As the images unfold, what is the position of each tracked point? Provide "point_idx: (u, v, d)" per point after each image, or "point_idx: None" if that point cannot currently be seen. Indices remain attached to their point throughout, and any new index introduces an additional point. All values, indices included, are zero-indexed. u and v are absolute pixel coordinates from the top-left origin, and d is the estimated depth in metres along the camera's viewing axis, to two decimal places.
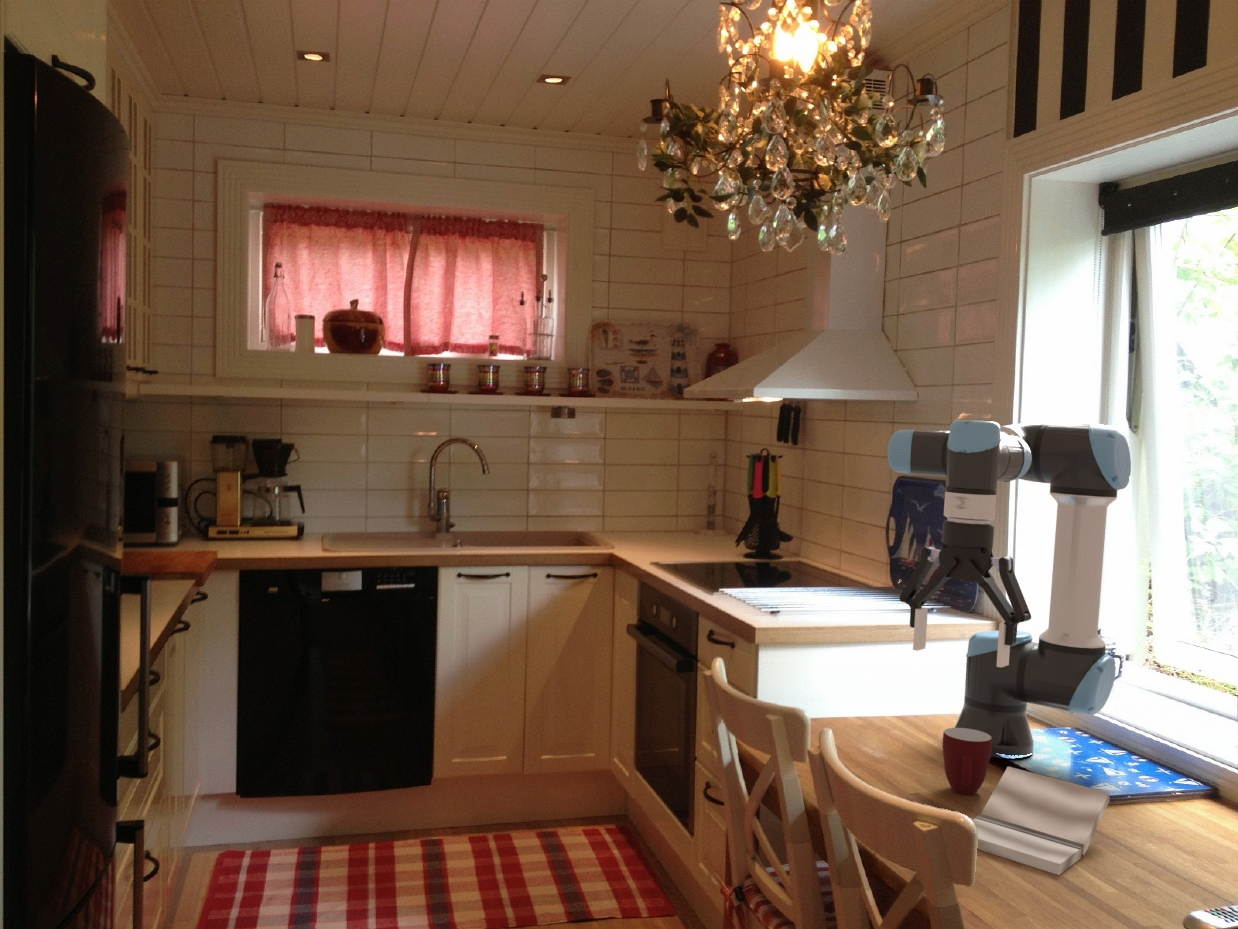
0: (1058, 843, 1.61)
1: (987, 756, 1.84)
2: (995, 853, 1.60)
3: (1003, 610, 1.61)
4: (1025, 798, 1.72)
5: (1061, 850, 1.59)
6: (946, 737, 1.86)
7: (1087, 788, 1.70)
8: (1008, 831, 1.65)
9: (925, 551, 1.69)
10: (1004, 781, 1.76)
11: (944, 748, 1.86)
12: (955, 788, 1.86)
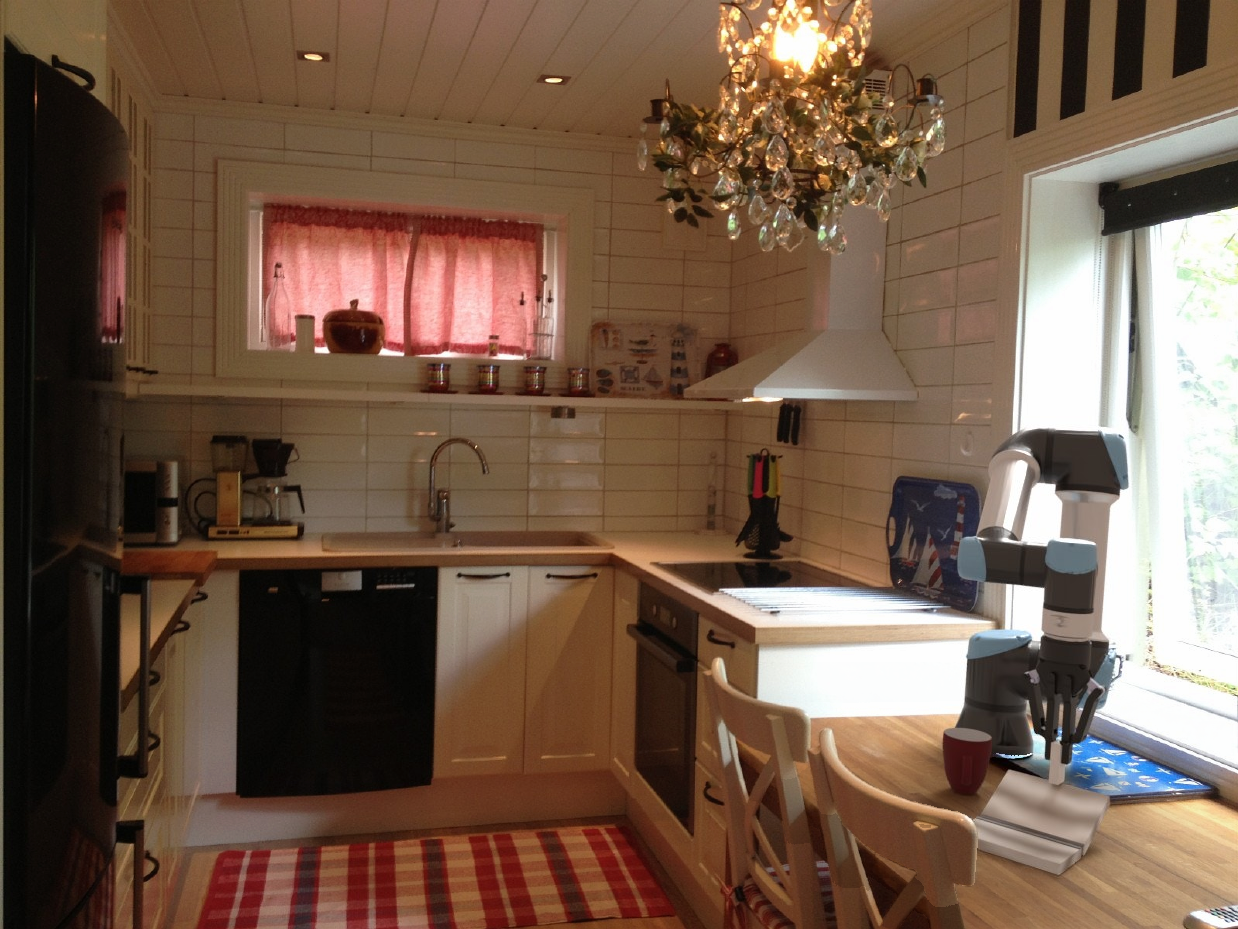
0: (1058, 843, 1.61)
1: (987, 756, 1.84)
2: (995, 853, 1.60)
3: (1066, 731, 1.71)
4: (1026, 799, 1.72)
5: (1061, 850, 1.59)
6: (946, 737, 1.86)
7: (1088, 791, 1.70)
8: (1008, 831, 1.65)
9: (1024, 677, 1.75)
10: (1005, 783, 1.76)
11: (944, 748, 1.86)
12: (955, 788, 1.86)
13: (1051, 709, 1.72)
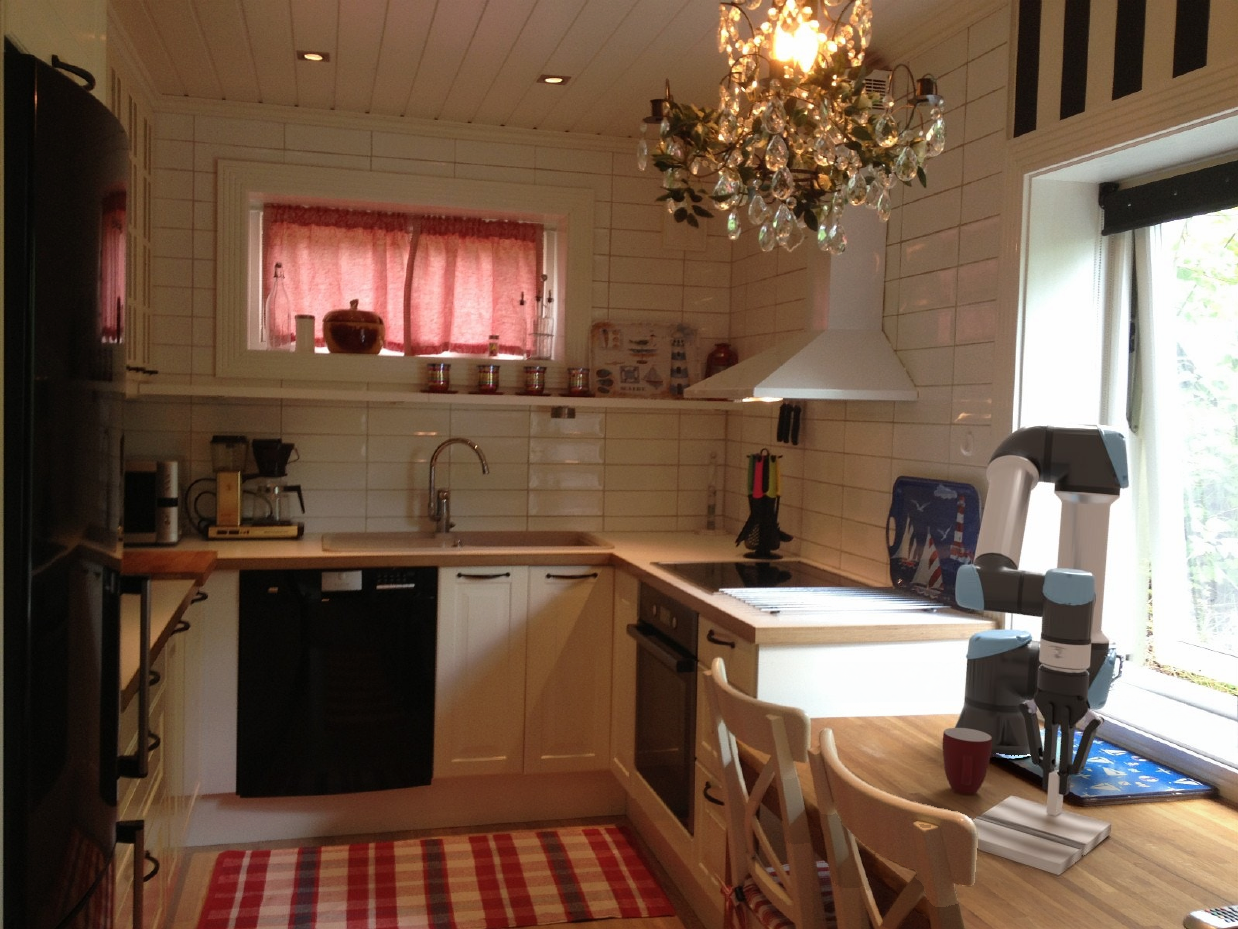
0: (1058, 843, 1.61)
1: (987, 756, 1.84)
2: (995, 853, 1.60)
3: (1064, 762, 1.71)
4: (1028, 813, 1.73)
5: (1061, 850, 1.59)
6: (946, 737, 1.86)
7: (1090, 818, 1.72)
8: (1008, 831, 1.65)
9: (1022, 707, 1.75)
10: (1007, 801, 1.77)
11: (944, 748, 1.86)
12: (955, 788, 1.86)
13: (1049, 739, 1.72)
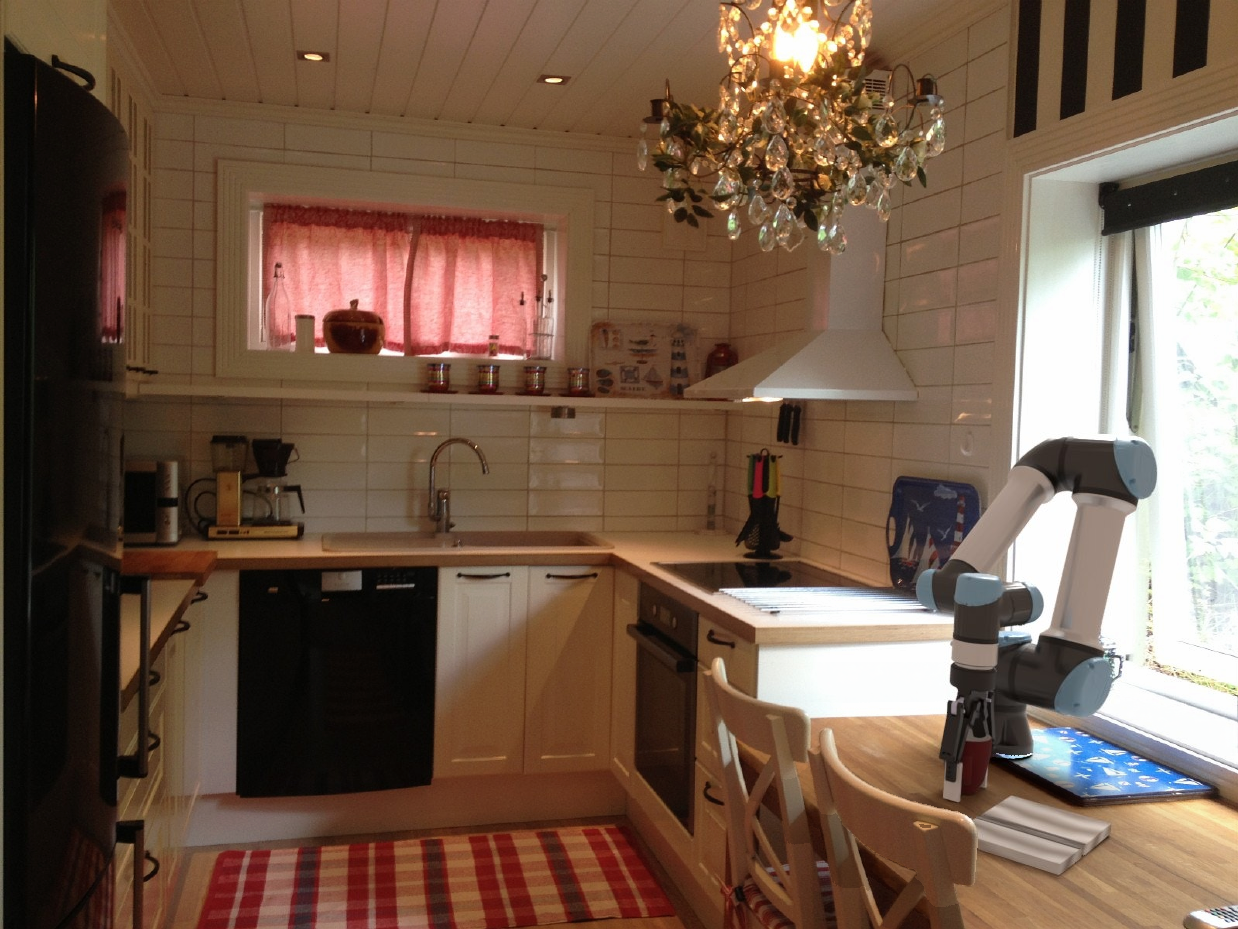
0: (1058, 843, 1.61)
1: (987, 756, 1.84)
2: (995, 853, 1.60)
3: None
4: (1028, 813, 1.73)
5: (1061, 850, 1.59)
6: None
7: (1090, 818, 1.72)
8: (1008, 831, 1.65)
9: None
10: (1007, 802, 1.77)
11: None
12: None
13: None
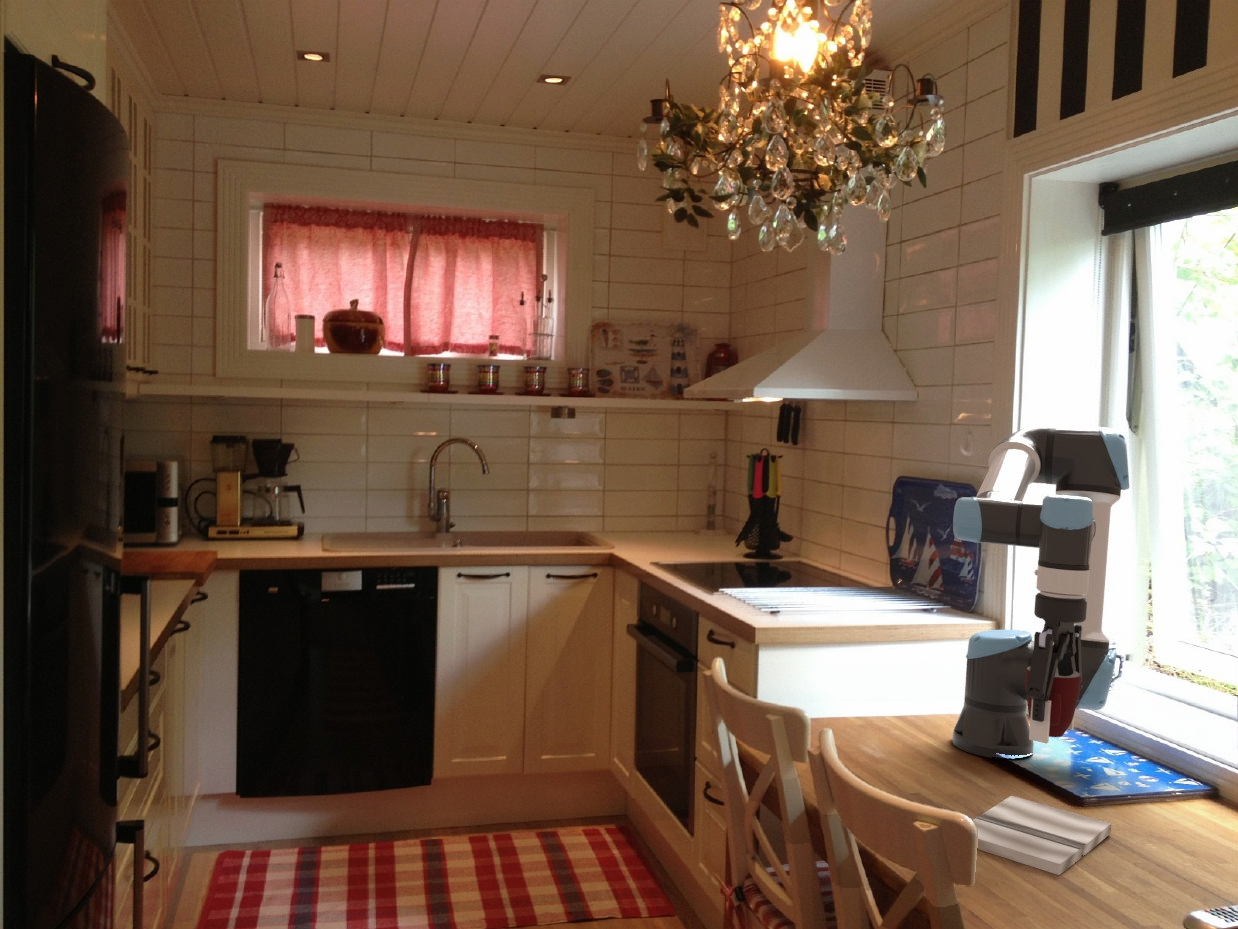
0: (1058, 843, 1.61)
1: (1076, 694, 1.68)
2: (995, 853, 1.60)
3: None
4: (1028, 813, 1.73)
5: (1061, 850, 1.59)
6: None
7: (1090, 818, 1.72)
8: (1008, 831, 1.65)
9: None
10: (1007, 802, 1.77)
11: None
12: None
13: None
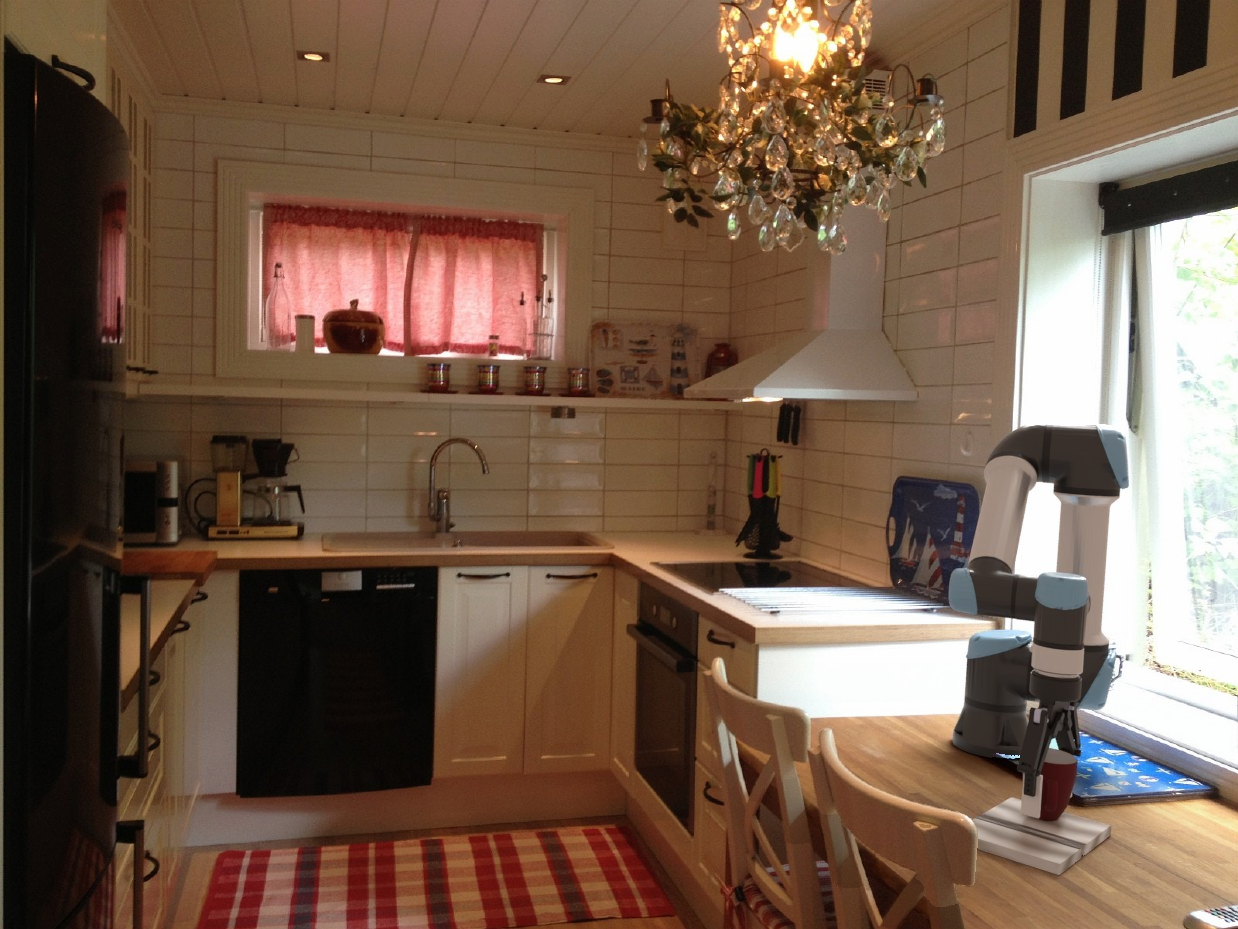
0: (1058, 843, 1.61)
1: (1073, 780, 1.69)
2: (995, 853, 1.60)
3: None
4: None
5: (1061, 850, 1.59)
6: None
7: (1090, 819, 1.72)
8: (1008, 831, 1.65)
9: None
10: (1007, 803, 1.78)
11: None
12: None
13: None
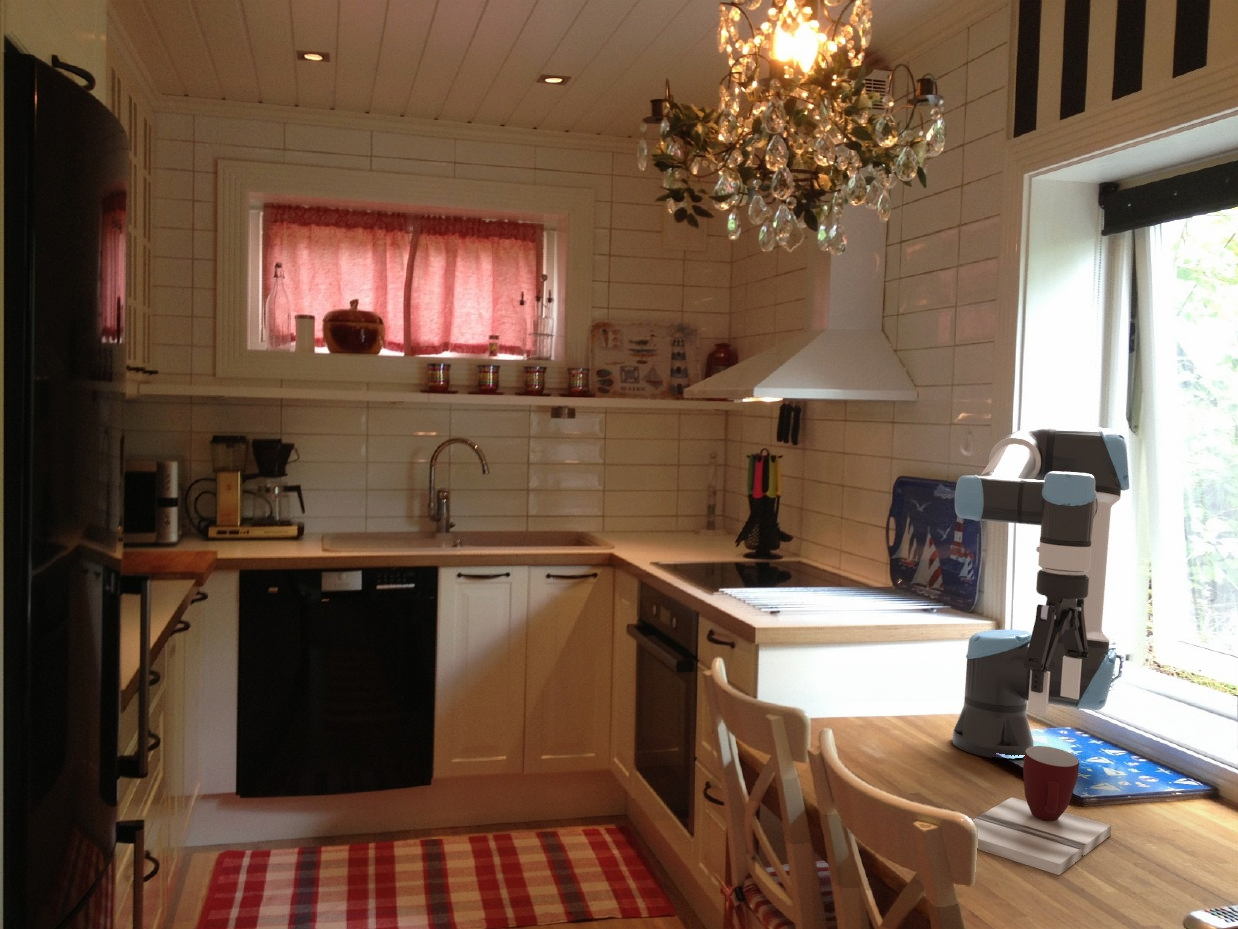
0: (1058, 843, 1.61)
1: (1074, 781, 1.68)
2: (995, 853, 1.60)
3: None
4: (1028, 814, 1.73)
5: (1061, 850, 1.59)
6: (1029, 759, 1.70)
7: (1090, 819, 1.72)
8: (1008, 831, 1.65)
9: None
10: (1007, 803, 1.78)
11: (1026, 770, 1.71)
12: (1036, 813, 1.70)
13: None
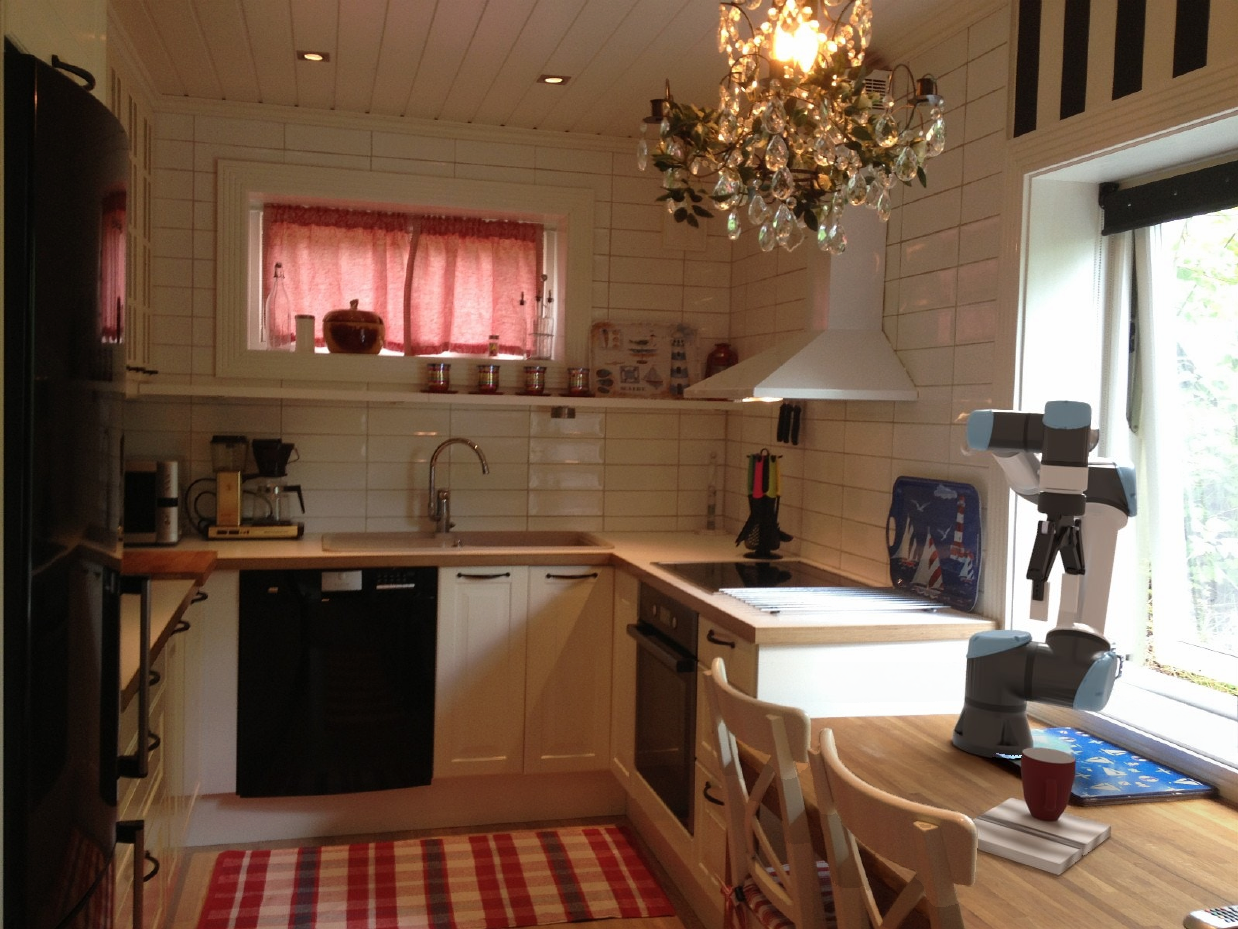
0: (1058, 843, 1.61)
1: (1071, 779, 1.69)
2: (995, 853, 1.60)
3: None
4: (1028, 814, 1.73)
5: (1061, 850, 1.59)
6: (1026, 758, 1.71)
7: (1090, 820, 1.72)
8: (1008, 831, 1.65)
9: None
10: (1007, 803, 1.78)
11: (1023, 770, 1.71)
12: (1036, 814, 1.71)
13: None
